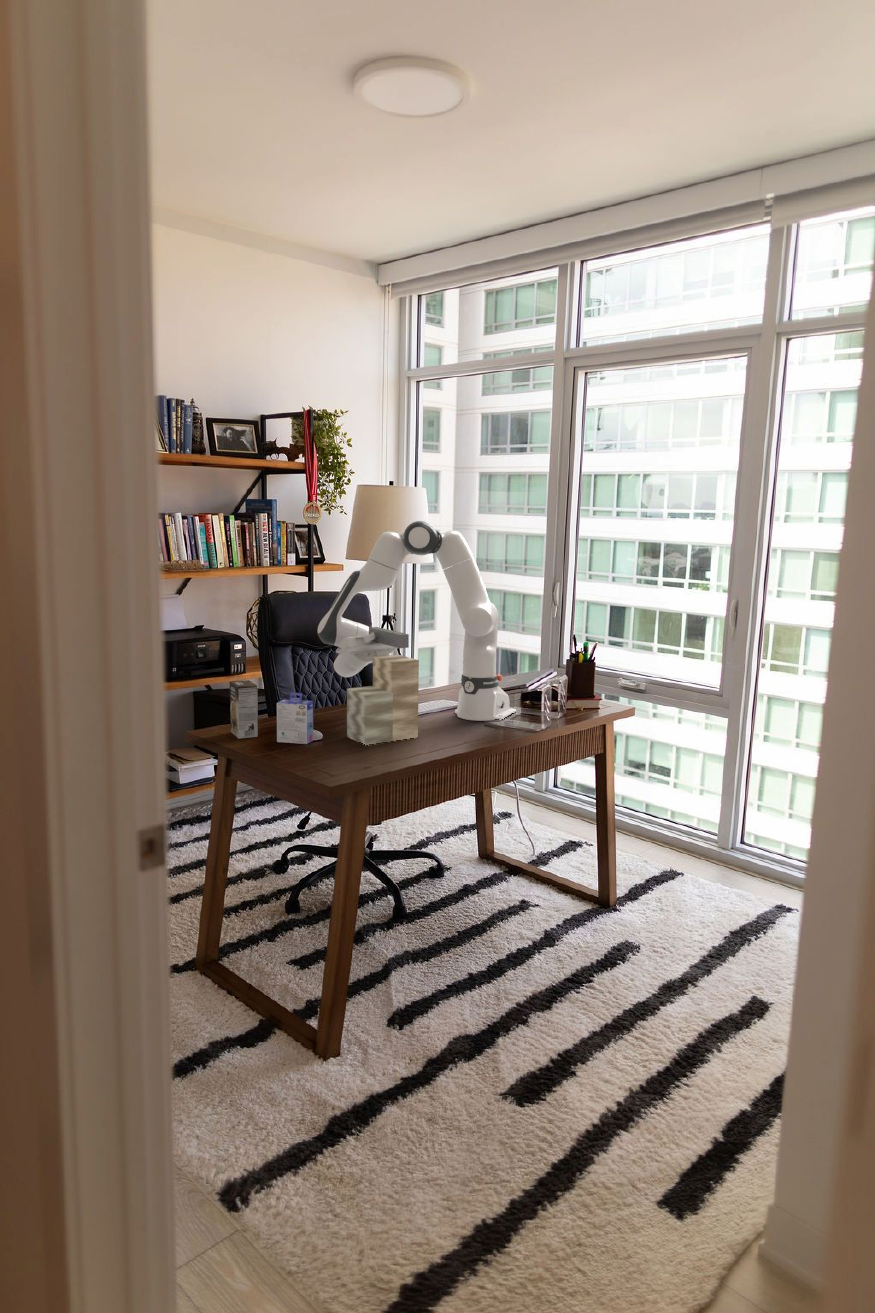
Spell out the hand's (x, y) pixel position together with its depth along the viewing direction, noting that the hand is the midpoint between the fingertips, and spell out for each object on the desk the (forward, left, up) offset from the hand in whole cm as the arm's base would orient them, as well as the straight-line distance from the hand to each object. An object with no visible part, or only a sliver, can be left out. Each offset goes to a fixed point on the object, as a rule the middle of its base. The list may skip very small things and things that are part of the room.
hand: (381, 634), depth 277 cm
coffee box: (+31, -28, -31) cm, 52 cm away
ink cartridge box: (+27, -10, -31) cm, 42 cm away
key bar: (+1, +4, -2) cm, 5 cm away
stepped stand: (+7, +7, -30) cm, 32 cm away
